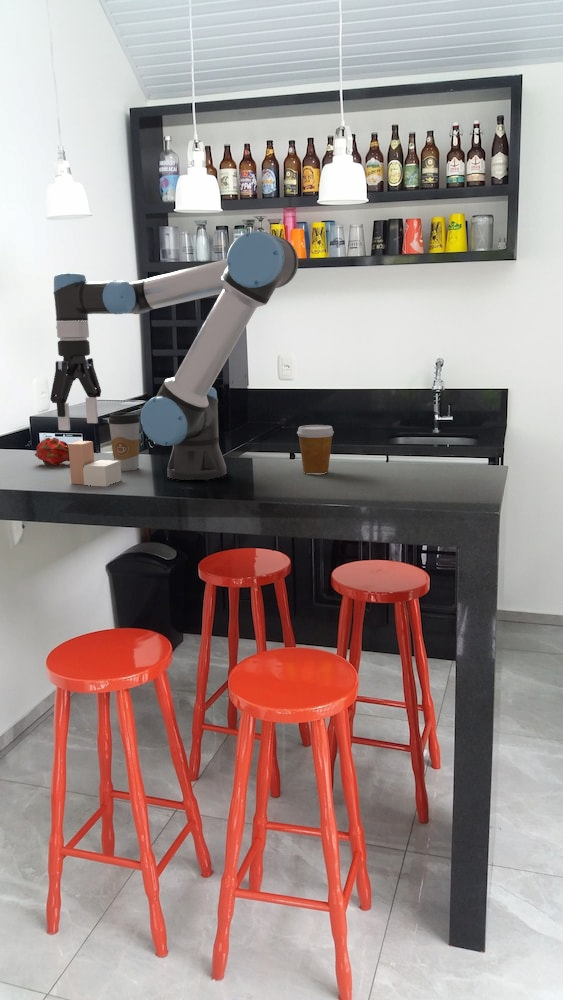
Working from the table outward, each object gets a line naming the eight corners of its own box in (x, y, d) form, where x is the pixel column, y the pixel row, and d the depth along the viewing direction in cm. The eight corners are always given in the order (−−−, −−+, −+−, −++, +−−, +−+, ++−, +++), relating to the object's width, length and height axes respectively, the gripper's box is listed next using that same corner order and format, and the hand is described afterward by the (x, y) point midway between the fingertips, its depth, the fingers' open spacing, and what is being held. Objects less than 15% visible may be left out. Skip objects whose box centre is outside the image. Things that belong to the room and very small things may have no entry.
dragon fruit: (38, 468, 238) (73, 477, 234) (23, 455, 230) (59, 463, 226) (49, 442, 240) (85, 450, 237) (35, 428, 233) (71, 436, 229)
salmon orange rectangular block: (95, 480, 211) (92, 441, 209) (85, 484, 206) (82, 444, 204) (81, 479, 212) (78, 440, 210) (71, 483, 207) (68, 443, 205)
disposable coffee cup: (298, 469, 220) (298, 424, 218) (334, 469, 219) (334, 424, 217) (296, 476, 211) (295, 429, 209) (333, 476, 210) (333, 429, 208)
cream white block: (121, 480, 210) (120, 460, 209) (106, 486, 203) (104, 466, 202) (100, 479, 212) (98, 459, 211) (84, 485, 204) (82, 465, 203)
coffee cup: (106, 471, 223) (103, 415, 220) (118, 465, 231) (114, 412, 228) (136, 471, 221) (133, 415, 218) (146, 466, 229) (143, 412, 226)
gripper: (85, 337, 214) (90, 419, 219) (30, 341, 191) (37, 432, 195) (111, 337, 212) (116, 420, 217) (59, 341, 189) (66, 433, 193)
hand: (78, 426), depth 206 cm, fingers open, 13 cm apart
